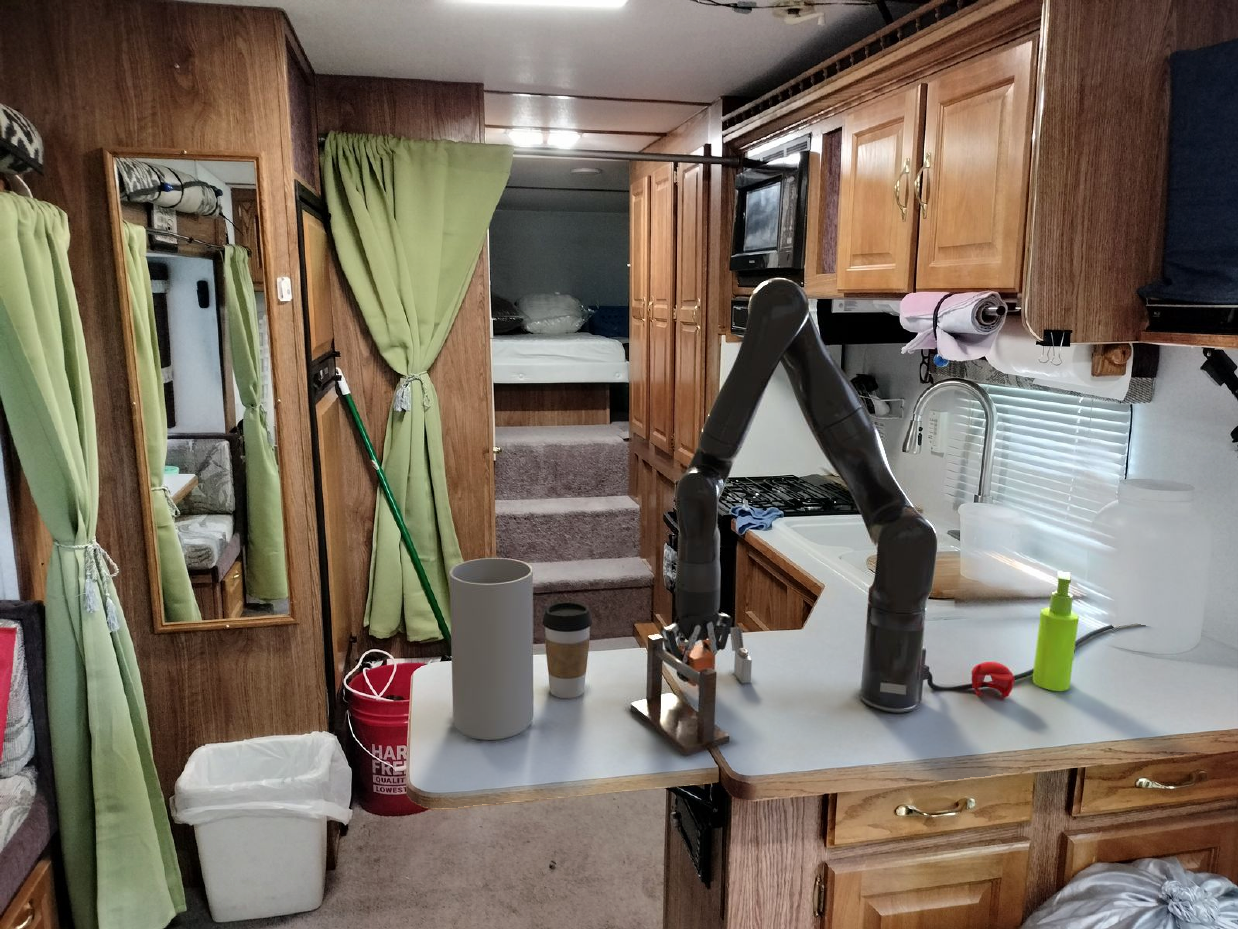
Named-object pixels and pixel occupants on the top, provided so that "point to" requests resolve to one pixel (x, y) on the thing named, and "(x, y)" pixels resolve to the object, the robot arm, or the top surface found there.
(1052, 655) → the soap dispenser
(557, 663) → the coffee cup
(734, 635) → the lighter
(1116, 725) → the top surface
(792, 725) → the top surface
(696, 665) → the clip
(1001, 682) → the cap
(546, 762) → the top surface
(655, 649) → the handle stand
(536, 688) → the top surface
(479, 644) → the cylinder vase
